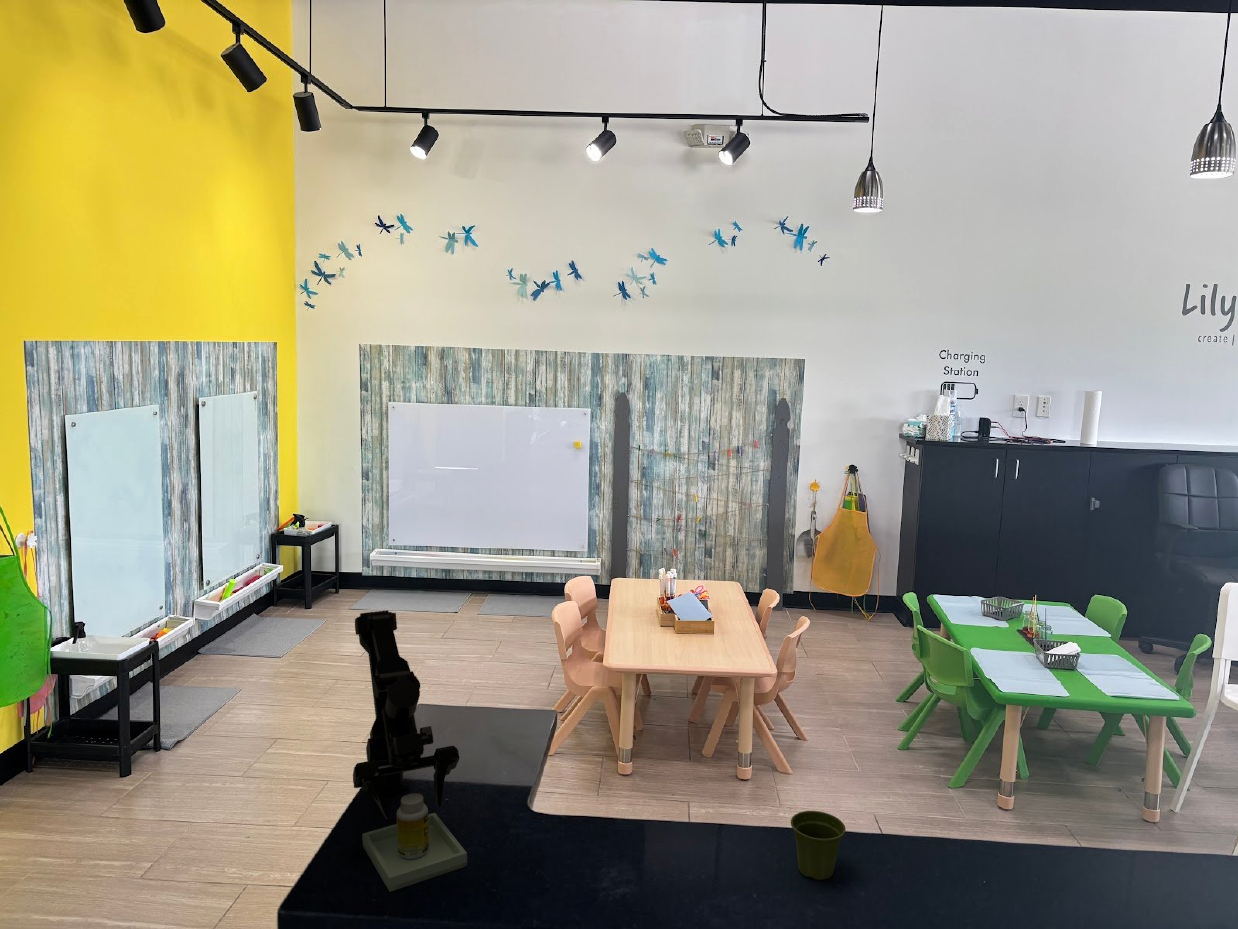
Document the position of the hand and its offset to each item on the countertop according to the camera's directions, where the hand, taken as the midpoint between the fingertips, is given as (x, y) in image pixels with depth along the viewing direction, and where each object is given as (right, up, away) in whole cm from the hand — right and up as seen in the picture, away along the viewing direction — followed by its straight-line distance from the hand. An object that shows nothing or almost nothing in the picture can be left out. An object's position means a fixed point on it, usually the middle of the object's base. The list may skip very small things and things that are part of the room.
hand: (413, 813), depth 154 cm
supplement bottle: (0, -8, +2) cm, 8 cm away
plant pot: (+72, -10, -2) cm, 73 cm away
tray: (0, -9, +2) cm, 9 cm away
